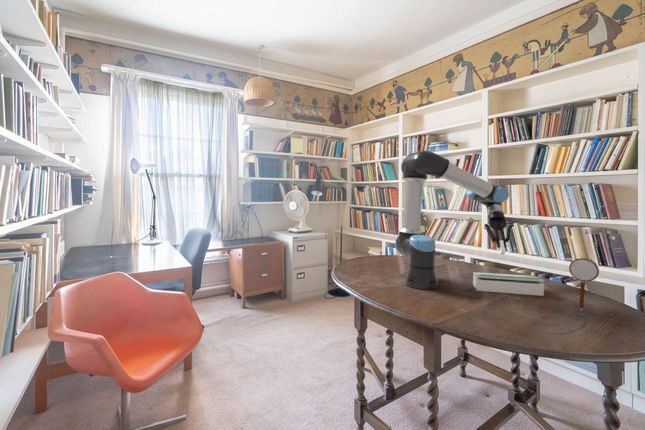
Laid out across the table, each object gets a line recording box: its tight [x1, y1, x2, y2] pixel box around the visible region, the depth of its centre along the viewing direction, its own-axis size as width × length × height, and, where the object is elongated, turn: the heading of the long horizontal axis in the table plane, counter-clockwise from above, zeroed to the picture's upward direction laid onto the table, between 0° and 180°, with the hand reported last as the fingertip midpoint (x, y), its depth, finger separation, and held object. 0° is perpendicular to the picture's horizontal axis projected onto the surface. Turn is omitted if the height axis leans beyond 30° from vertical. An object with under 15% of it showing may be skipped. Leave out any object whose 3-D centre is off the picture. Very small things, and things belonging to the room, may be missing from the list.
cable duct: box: [472, 274, 545, 297], centre depth 142 cm, size 26×10×5 cm, turn 74°
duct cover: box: [472, 271, 545, 283], centre depth 141 cm, size 26×10×1 cm, turn 74°
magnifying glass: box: [568, 257, 600, 311], centre depth 116 cm, size 9×2×20 cm, turn 39°
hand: (502, 252), depth 147 cm, fingers closed
